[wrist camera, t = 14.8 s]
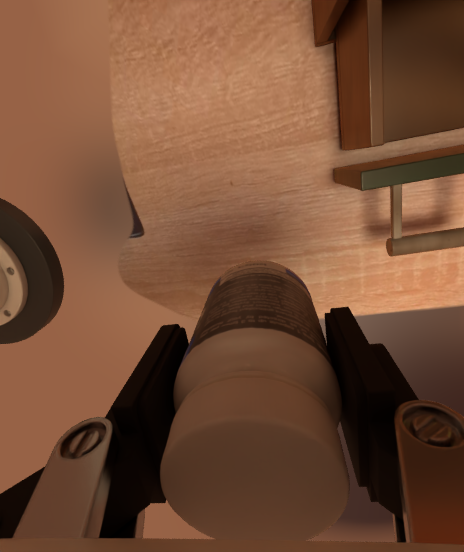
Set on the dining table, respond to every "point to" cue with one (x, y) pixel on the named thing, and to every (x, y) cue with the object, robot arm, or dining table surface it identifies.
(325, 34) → the cabinet
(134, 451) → the robot arm
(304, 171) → the dining table surface
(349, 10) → the drawer
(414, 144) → the dining table surface
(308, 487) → the pill bottle
